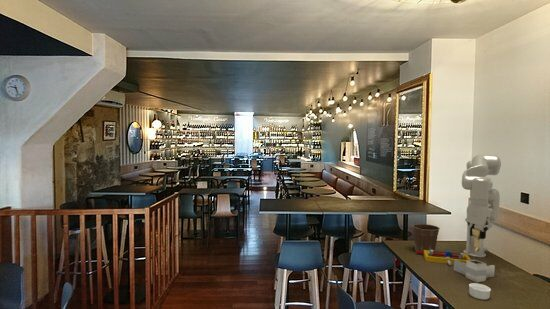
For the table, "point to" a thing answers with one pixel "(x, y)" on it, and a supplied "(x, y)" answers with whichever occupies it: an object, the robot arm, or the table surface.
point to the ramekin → (479, 291)
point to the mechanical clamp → (446, 259)
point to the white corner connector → (474, 270)
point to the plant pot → (425, 237)
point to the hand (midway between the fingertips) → (477, 236)
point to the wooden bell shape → (476, 238)
